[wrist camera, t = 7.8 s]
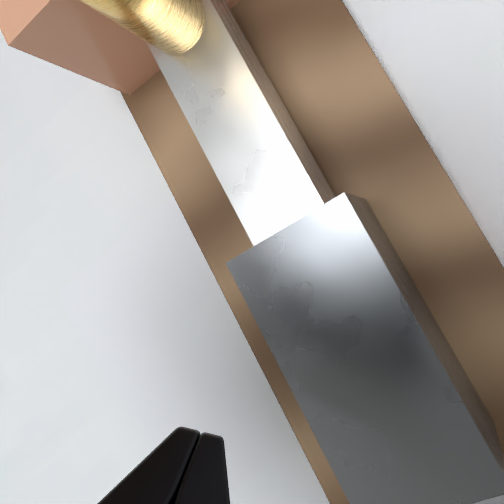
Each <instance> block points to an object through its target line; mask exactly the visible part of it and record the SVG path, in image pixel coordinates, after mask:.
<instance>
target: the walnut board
mask: <svg viewBox="0 0 504 504" xmlns="http://www.w3.org/2000/svg"><path fill="white" fill-rule="evenodd" d="M230 10H231V12H232V14H233V15H234V17H235V19H236V21H237V23H238V24H239V26H240V28H241V30H242V31H243V33H244V35H245V37H246V39H247V40H248V42H249V44H250V46H251V47H252V49H253V51H254V53H255V55H256V56H257V58H258V60H259V62H260V63H261V65H262V67H263V69H264V70H265V72H266V74H267V76H268V78H269V79H270V81H271V83H272V85H273V86H274V88H275V90H276V92H277V94H278V95H279V97H280V99H281V101H282V102H283V104H284V106H285V108H286V110H287V111H288V113H289V115H290V117H291V118H292V120H293V122H294V124H295V125H296V127H297V129H298V131H299V133H300V134H301V136H302V138H303V140H304V141H305V143H306V145H307V147H308V149H309V150H310V152H311V154H312V156H313V157H314V159H315V161H316V163H317V165H318V166H319V168H320V170H321V172H322V173H323V175H324V177H325V179H326V180H327V182H328V184H329V186H330V188H331V189H332V191H333V193H334V195H335V196H336V197H337V196H339V195H340V194H342V193H344V192H345V193H348V194H351V195H354V196H358V197H361V198H364V199H366V200H367V202H368V203H369V205H370V207H371V209H372V210H373V212H374V214H375V216H376V217H377V219H378V221H379V222H380V224H381V226H382V228H383V229H384V231H385V233H386V235H387V236H388V238H389V240H390V242H391V243H392V245H393V247H394V249H395V250H396V252H397V254H398V256H399V257H400V259H401V261H402V263H403V264H404V266H405V268H406V270H407V271H408V273H409V275H410V277H411V278H412V280H413V282H414V284H415V285H416V287H417V289H418V291H419V292H420V294H421V296H422V297H423V299H424V301H425V303H426V304H427V306H428V308H429V310H430V311H431V313H432V315H433V317H434V318H435V320H436V322H437V324H438V325H439V327H440V329H441V331H442V332H443V334H444V336H445V338H446V339H447V341H448V343H449V345H450V346H451V348H452V350H453V352H454V353H455V355H456V357H457V359H458V360H459V362H460V364H461V366H462V367H463V369H464V371H465V372H466V374H467V376H468V378H469V379H470V381H471V383H472V385H473V386H474V388H475V390H476V392H477V393H478V395H479V397H480V399H481V400H482V402H483V404H484V406H485V407H486V409H487V411H488V413H489V414H490V416H491V418H492V420H493V421H494V424H495V427H496V431H497V434H498V438H499V441H500V445H501V448H502V452H503V455H504V268H503V266H502V264H501V263H500V261H499V259H498V258H497V256H496V254H495V253H494V251H493V249H492V248H491V246H490V244H489V243H488V241H487V239H486V238H485V236H484V234H483V233H482V231H481V230H480V228H479V226H478V225H477V223H476V221H475V220H474V218H473V216H472V215H471V213H470V211H469V210H468V208H467V206H466V205H465V203H464V201H463V200H462V198H461V196H460V195H459V193H458V192H457V190H456V188H455V187H454V185H453V183H452V182H451V180H450V178H449V177H448V175H447V173H446V172H445V170H444V168H443V167H442V165H441V163H440V162H439V160H438V158H437V157H436V155H435V154H434V152H433V150H432V149H431V147H430V145H429V144H428V142H427V140H426V139H425V137H424V135H423V134H422V132H421V130H420V129H419V127H418V125H417V124H416V122H415V120H414V119H413V117H412V116H411V114H410V112H409V111H408V109H407V107H406V106H405V104H404V102H403V101H402V99H401V97H400V96H399V94H398V92H397V91H396V89H395V87H394V86H393V84H392V83H391V81H390V79H389V78H388V76H387V74H386V73H385V71H384V69H383V68H382V66H381V64H380V63H379V61H378V59H377V58H376V56H375V54H374V53H373V51H372V49H371V48H370V46H369V45H368V43H367V41H366V40H365V38H364V36H363V35H362V33H361V31H360V30H359V28H358V26H357V25H356V23H355V21H354V20H353V18H352V16H351V15H350V13H349V11H348V10H347V8H346V7H345V5H344V3H343V2H342V0H241V1H240V2H238V3H237V4H236V5H235V6H234V7H233V8H231V9H230ZM120 92H121V91H120ZM121 94H122V96H123V98H124V100H125V102H126V104H127V106H128V108H129V109H130V111H131V113H132V115H133V117H134V119H135V121H136V123H137V125H138V127H139V129H140V131H141V133H142V135H143V137H144V139H145V141H146V143H147V145H148V147H149V149H150V151H151V153H152V155H153V157H154V159H155V160H156V162H157V164H158V166H159V168H160V170H161V172H162V174H163V176H164V178H165V180H166V182H167V184H168V186H169V188H170V190H171V192H172V194H173V196H174V198H175V200H176V202H177V204H178V206H179V208H180V210H181V211H182V213H183V215H184V217H185V219H186V221H187V223H188V225H189V227H190V229H191V231H192V233H193V235H194V237H195V239H196V241H197V243H198V245H199V247H200V249H201V251H202V253H203V255H204V257H205V259H206V261H207V263H208V264H209V266H210V268H211V270H212V272H213V274H214V276H215V278H216V280H217V282H218V284H219V286H220V288H221V290H222V292H223V294H224V296H225V298H226V300H227V302H228V304H229V306H230V308H231V310H232V312H233V314H234V315H235V317H236V319H237V321H238V323H239V325H240V327H241V329H242V331H243V333H244V335H245V337H246V339H247V341H248V343H249V345H250V347H251V349H252V351H253V353H254V355H255V357H256V359H257V361H258V363H259V365H260V367H261V368H262V370H263V372H264V374H265V376H266V378H267V380H268V382H269V384H270V386H271V388H272V390H273V392H274V394H275V396H276V398H277V400H278V402H279V404H280V406H281V408H282V410H283V412H284V414H285V416H286V418H287V419H288V421H289V423H290V425H291V427H292V429H293V431H294V433H295V435H296V437H297V439H298V441H299V443H300V445H301V447H302V449H303V451H304V453H305V455H306V457H307V459H308V461H309V463H310V465H311V467H312V469H313V470H314V472H315V474H316V476H317V478H318V480H319V482H320V484H321V486H322V488H323V490H324V492H325V494H326V496H327V498H328V500H329V502H330V504H350V503H349V501H348V499H347V497H346V496H345V494H344V492H343V490H342V488H341V486H340V484H339V482H338V480H337V478H336V476H335V474H334V472H333V470H332V468H331V466H330V465H329V463H328V461H327V459H326V457H325V455H324V453H323V451H322V449H321V447H320V445H319V443H318V441H317V439H316V437H315V435H314V433H313V432H312V430H311V428H310V426H309V424H308V422H307V420H306V418H305V416H304V414H303V412H302V410H301V408H300V406H299V404H298V402H297V400H296V399H295V397H294V395H293V393H292V391H291V389H290V387H289V385H288V383H287V381H286V379H285V377H284V375H283V373H282V371H281V369H280V368H279V366H278V364H277V362H276V360H275V358H274V356H273V354H272V352H271V350H270V348H269V346H268V344H267V342H266V340H265V338H264V336H263V335H262V333H261V331H260V329H259V327H258V325H257V323H256V321H255V319H254V317H253V315H252V313H251V311H250V309H249V307H248V305H247V304H246V302H245V300H244V298H243V296H242V294H241V292H240V290H239V288H238V286H237V284H236V282H235V280H234V278H233V276H232V274H231V272H230V271H229V269H228V267H227V265H226V263H227V262H228V261H230V260H232V259H233V258H235V257H237V256H238V255H240V254H242V253H243V252H245V251H247V250H248V249H250V248H252V247H253V244H252V242H251V240H250V238H249V236H248V234H247V232H246V231H245V229H244V227H243V225H242V223H241V221H240V219H239V217H238V215H237V213H236V212H235V210H234V208H233V206H232V204H231V202H230V200H229V198H228V196H227V195H226V193H225V191H224V189H223V187H222V185H221V183H220V181H219V179H218V177H217V176H216V174H215V172H214V170H213V168H212V166H211V164H210V162H209V160H208V159H207V157H206V155H205V153H204V151H203V149H202V147H201V145H200V143H199V141H198V140H197V138H196V136H195V134H194V132H193V130H192V128H191V126H190V124H189V123H188V121H187V119H186V117H185V115H184V113H183V111H182V109H181V107H180V105H179V104H178V102H177V100H176V98H175V96H174V94H173V92H172V90H171V88H170V86H169V85H168V83H167V81H166V79H165V77H164V75H163V73H162V71H161V69H160V70H159V71H158V72H157V73H156V74H154V75H153V76H152V77H151V78H150V79H149V80H147V81H146V82H145V83H144V84H143V85H142V86H140V87H139V88H138V89H137V90H136V91H135V92H133V93H132V94H131V95H128V94H126V93H123V92H121Z"/></svg>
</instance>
